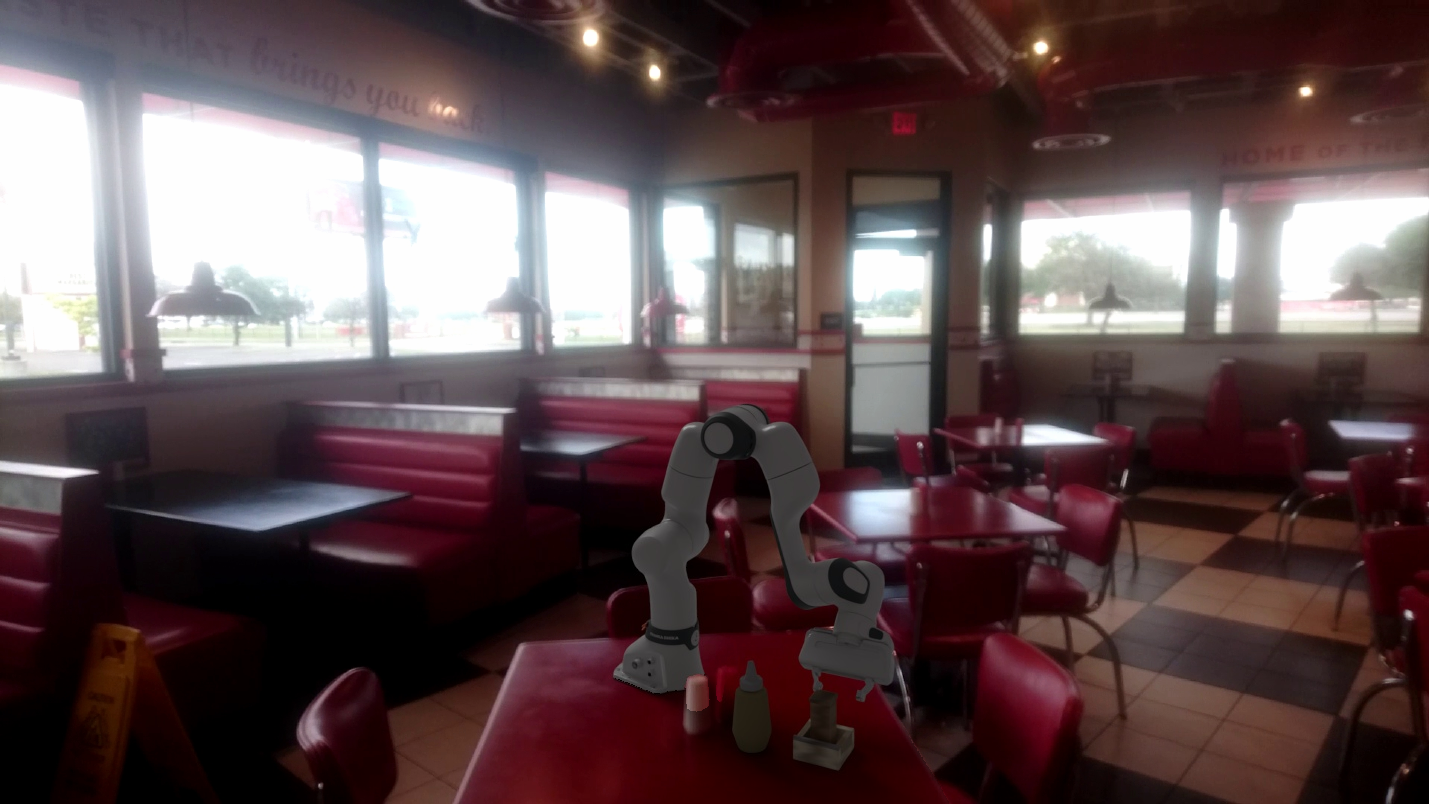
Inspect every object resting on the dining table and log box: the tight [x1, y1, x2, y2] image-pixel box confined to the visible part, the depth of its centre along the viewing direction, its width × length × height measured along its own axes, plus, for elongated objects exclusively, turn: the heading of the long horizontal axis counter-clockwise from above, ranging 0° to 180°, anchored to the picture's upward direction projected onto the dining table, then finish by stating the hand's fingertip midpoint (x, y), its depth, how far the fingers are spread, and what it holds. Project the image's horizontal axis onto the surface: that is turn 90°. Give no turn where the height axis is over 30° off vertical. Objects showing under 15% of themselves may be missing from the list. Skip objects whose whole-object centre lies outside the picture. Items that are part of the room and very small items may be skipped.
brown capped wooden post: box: [808, 689, 839, 745], centre depth 162 cm, size 4×4×12 cm
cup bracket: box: [792, 719, 855, 771], centre depth 163 cm, size 9×9×5 cm
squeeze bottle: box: [731, 660, 772, 754], centre depth 165 cm, size 8×8×18 cm
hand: (837, 695), depth 170 cm, fingers open, 8 cm apart
